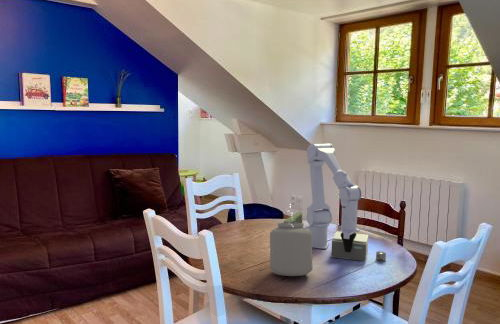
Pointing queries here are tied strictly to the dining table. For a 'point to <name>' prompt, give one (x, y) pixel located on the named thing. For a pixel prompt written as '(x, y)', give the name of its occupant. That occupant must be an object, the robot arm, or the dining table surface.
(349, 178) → the robot arm
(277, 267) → the jar
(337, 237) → the box
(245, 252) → the dining table surface
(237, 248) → the dining table surface
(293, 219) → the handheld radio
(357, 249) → the grey box with handle
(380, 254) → the stand
